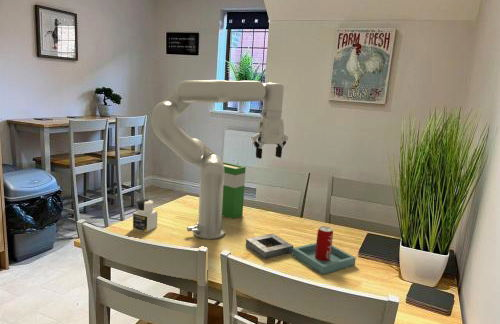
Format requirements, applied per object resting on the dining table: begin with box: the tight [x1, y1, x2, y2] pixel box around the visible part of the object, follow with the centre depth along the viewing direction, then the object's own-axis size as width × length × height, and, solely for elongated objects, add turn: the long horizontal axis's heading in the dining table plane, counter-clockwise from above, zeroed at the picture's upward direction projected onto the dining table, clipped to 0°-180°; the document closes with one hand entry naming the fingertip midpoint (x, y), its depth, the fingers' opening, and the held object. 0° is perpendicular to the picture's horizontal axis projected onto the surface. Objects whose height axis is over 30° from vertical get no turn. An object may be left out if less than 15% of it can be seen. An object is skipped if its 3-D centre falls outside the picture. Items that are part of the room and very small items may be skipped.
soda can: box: [315, 225, 334, 262], centre depth 131 cm, size 6×6×12 cm
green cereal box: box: [222, 161, 246, 220], centre depth 174 cm, size 18×7×24 cm, turn 54°
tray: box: [291, 242, 357, 276], centre depth 132 cm, size 16×16×3 cm
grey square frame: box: [245, 233, 294, 261], centre depth 138 cm, size 13×13×3 cm
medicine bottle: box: [132, 198, 158, 233], centre depth 150 cm, size 7×7×12 cm
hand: (268, 157), depth 146 cm, fingers open, 9 cm apart
